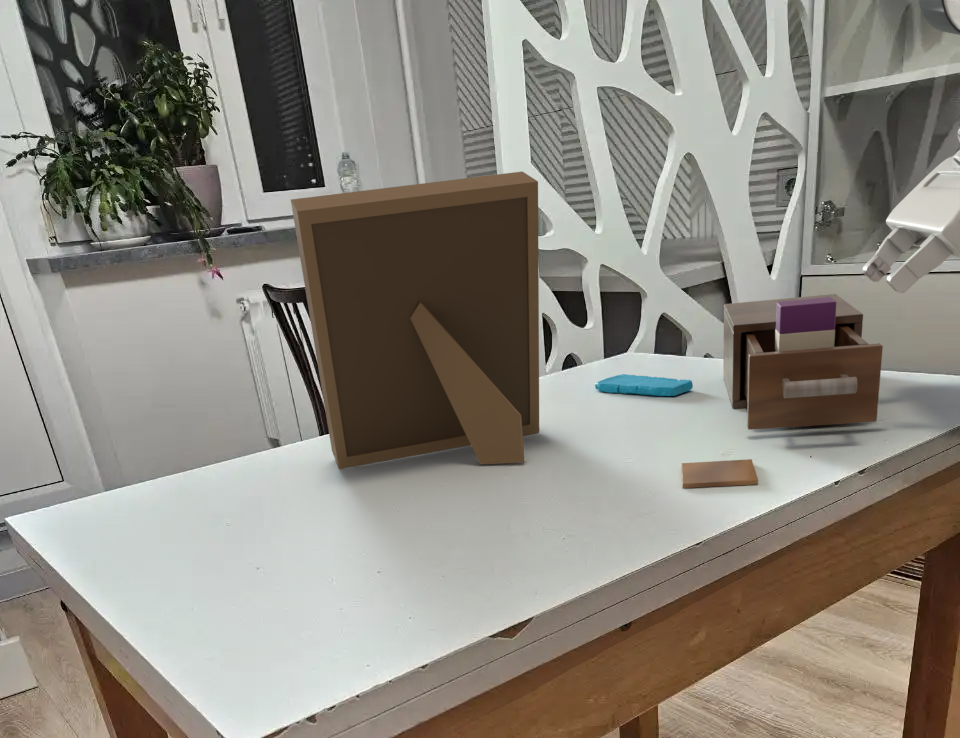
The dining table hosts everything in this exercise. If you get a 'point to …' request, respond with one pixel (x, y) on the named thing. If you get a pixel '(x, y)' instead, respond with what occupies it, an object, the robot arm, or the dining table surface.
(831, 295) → the cabinet
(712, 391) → the dining table surface
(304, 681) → the dining table surface
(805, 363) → the drawer
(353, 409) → the photo frame
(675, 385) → the sponge
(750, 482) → the coaster
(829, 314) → the snack carton
